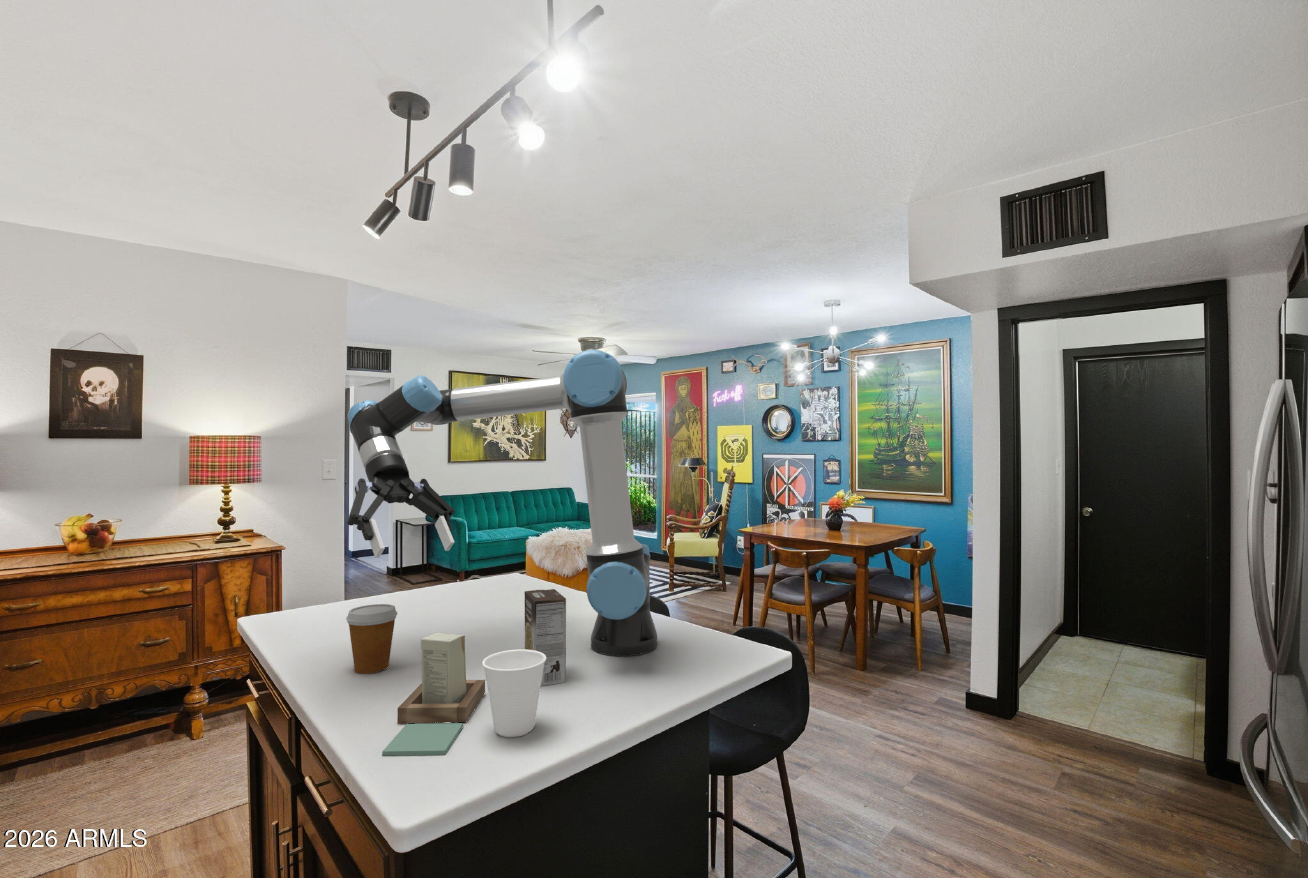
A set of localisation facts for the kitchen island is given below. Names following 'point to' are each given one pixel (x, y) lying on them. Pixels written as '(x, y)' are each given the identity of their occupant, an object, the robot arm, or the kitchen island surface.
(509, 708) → the cup
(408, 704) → the wooden square frame
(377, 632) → the disposable coffee cup
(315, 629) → the kitchen island surface
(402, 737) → the rubber mat
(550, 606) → the coffee box
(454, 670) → the skincare box
